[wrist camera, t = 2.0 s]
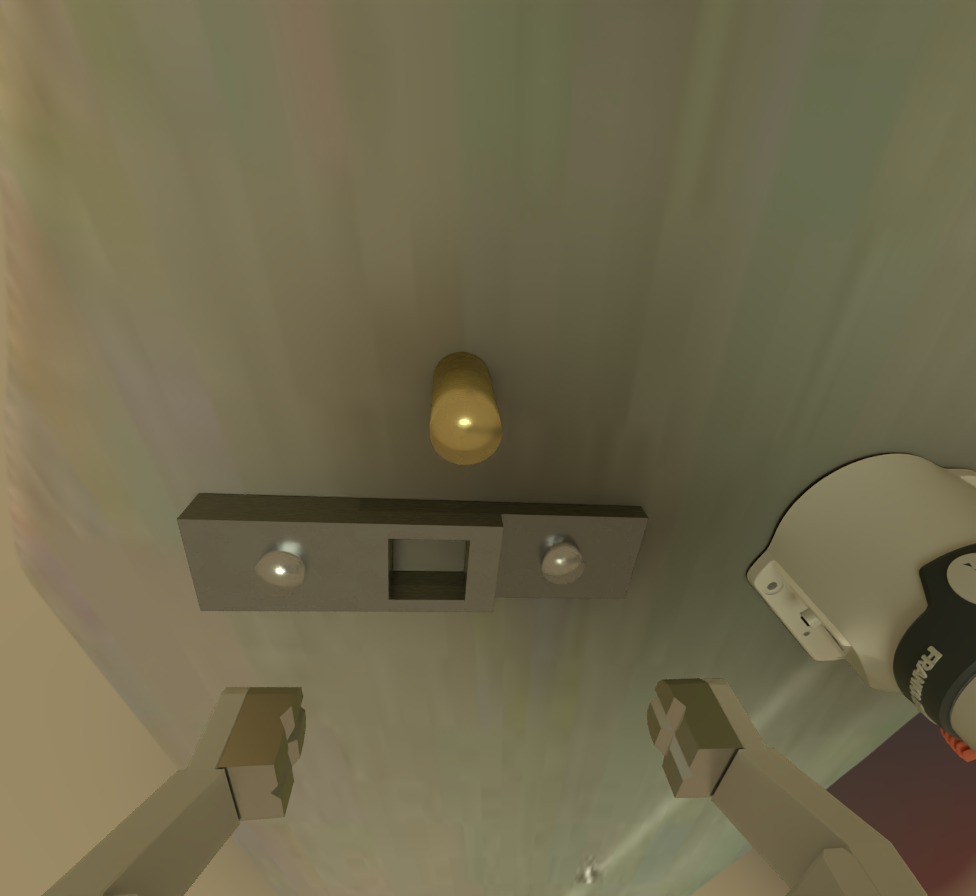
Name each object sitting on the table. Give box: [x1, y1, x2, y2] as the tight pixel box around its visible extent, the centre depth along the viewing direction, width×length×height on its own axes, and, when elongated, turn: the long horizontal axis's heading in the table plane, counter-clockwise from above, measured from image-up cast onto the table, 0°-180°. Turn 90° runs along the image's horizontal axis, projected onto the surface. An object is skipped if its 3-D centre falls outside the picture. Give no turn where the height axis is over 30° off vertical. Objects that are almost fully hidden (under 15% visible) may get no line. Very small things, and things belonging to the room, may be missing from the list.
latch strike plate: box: [177, 493, 648, 612], centre depth 34 cm, size 32×8×4 cm, turn 85°
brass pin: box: [430, 352, 502, 465], centre depth 27 cm, size 4×4×8 cm
